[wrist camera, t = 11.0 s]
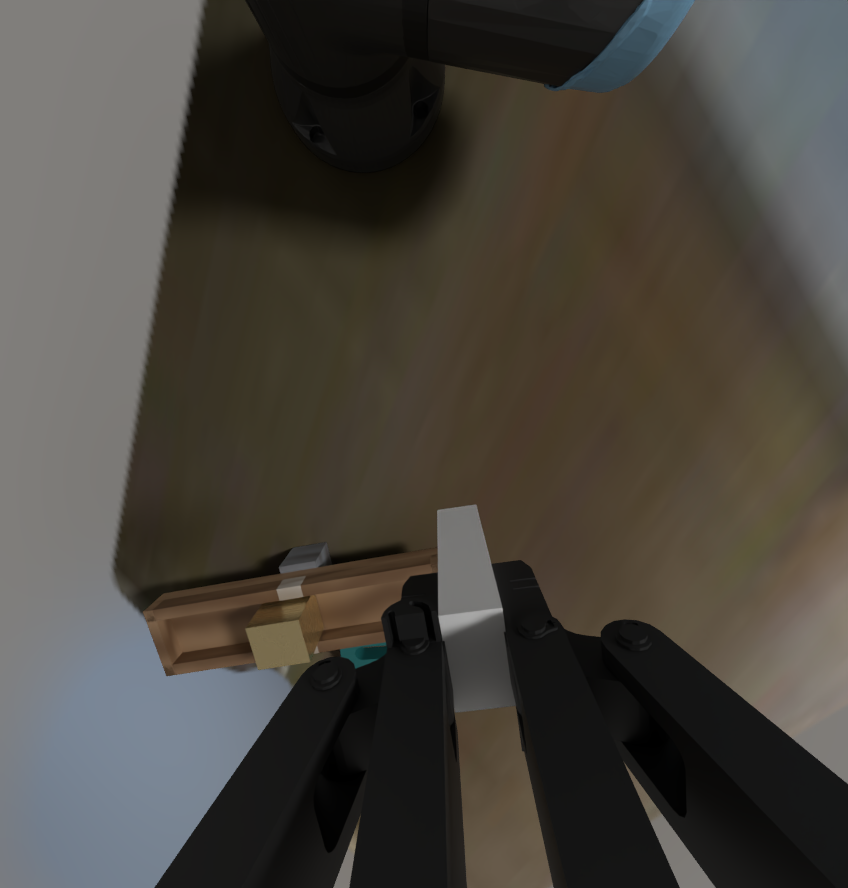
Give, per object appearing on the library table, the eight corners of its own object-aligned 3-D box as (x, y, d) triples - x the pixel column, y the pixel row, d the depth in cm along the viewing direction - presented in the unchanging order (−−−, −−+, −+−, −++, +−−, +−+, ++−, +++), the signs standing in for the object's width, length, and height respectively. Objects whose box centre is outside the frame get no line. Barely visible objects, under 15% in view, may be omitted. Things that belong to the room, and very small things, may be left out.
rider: (266, 597, 43) (245, 628, 39) (313, 589, 43) (298, 619, 38) (277, 635, 44) (258, 669, 39) (324, 627, 44) (310, 661, 39)
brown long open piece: (185, 566, 50) (140, 605, 42) (438, 522, 48) (439, 555, 40) (208, 633, 51) (168, 682, 44) (452, 594, 50) (456, 638, 42)
